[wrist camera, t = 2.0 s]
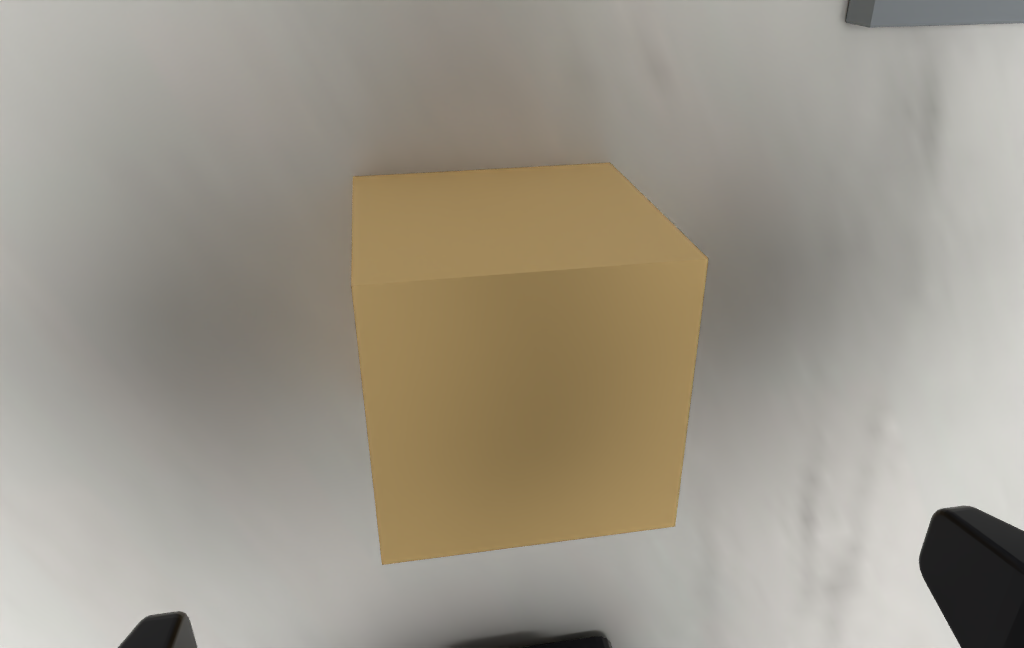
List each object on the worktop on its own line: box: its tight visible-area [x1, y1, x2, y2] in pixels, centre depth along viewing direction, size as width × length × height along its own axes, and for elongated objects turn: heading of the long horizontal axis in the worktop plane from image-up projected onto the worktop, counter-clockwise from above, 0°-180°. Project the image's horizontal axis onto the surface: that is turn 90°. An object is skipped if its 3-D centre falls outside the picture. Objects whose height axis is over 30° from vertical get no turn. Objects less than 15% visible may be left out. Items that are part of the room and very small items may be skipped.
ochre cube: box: [351, 163, 708, 565], centre depth 14 cm, size 5×5×5 cm
